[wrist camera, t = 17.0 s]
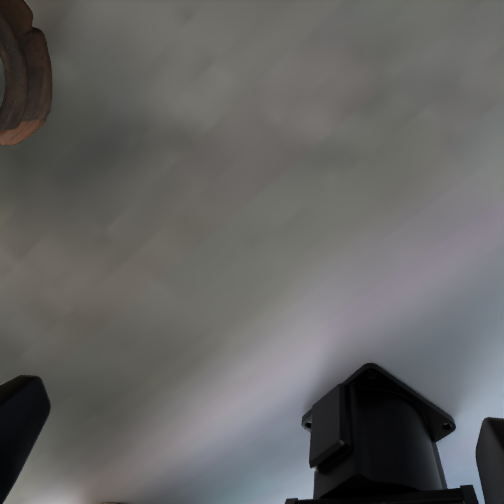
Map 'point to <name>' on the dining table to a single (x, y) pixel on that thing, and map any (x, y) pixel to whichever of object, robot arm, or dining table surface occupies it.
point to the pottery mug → (23, 73)
